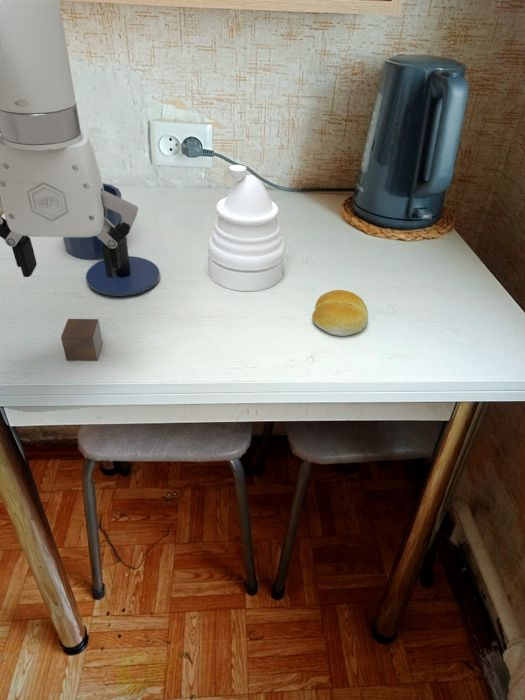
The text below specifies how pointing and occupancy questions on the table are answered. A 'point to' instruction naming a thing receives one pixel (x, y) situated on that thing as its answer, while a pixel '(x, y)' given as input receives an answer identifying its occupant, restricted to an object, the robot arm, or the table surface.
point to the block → (82, 339)
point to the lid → (124, 275)
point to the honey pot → (246, 237)
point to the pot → (93, 245)
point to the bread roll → (340, 313)
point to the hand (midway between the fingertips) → (71, 271)
